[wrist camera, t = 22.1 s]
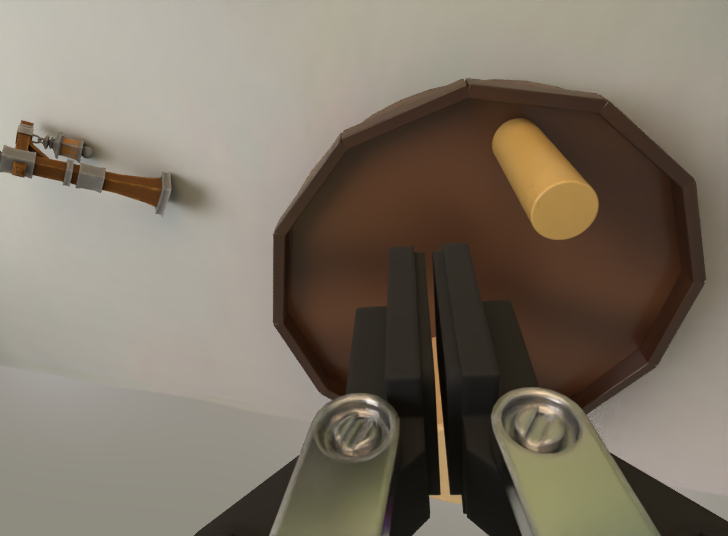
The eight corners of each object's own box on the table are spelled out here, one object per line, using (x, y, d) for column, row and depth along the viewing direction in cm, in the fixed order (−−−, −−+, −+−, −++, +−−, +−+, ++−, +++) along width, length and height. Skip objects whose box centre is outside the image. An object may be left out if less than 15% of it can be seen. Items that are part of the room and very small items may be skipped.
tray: (593, 429, 34) (648, 554, 27) (278, 395, 34) (248, 513, 26) (764, 109, 22) (941, 179, 15) (284, 51, 22) (232, 96, 15)
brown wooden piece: (2, 103, 25) (-18, 147, 22) (168, 149, 29) (171, 192, 26) (-2, 134, 26) (-21, 180, 22) (160, 175, 30) (162, 219, 27)
